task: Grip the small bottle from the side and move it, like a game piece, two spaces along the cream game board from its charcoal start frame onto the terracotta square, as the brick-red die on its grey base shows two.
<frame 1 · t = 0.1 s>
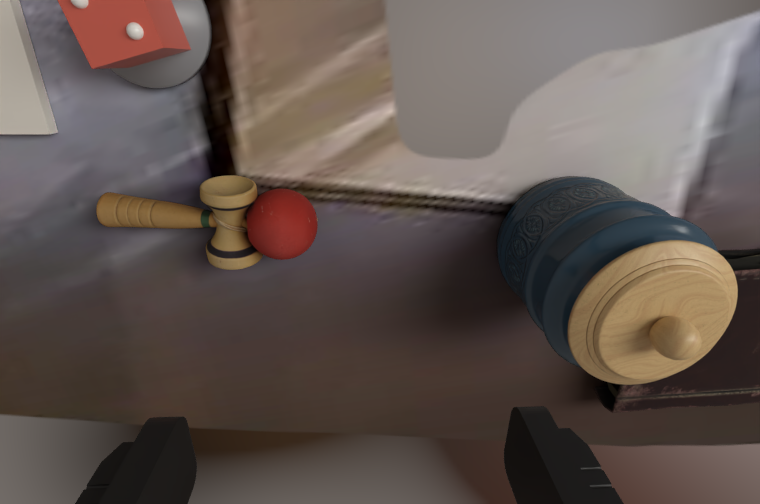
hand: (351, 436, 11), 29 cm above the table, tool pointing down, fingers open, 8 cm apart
canister: (558, 237, 41), on the table
diary: (714, 316, 47), on the table
kendama: (219, 210, 38), on the table
red die: (150, 23, 32), on the table
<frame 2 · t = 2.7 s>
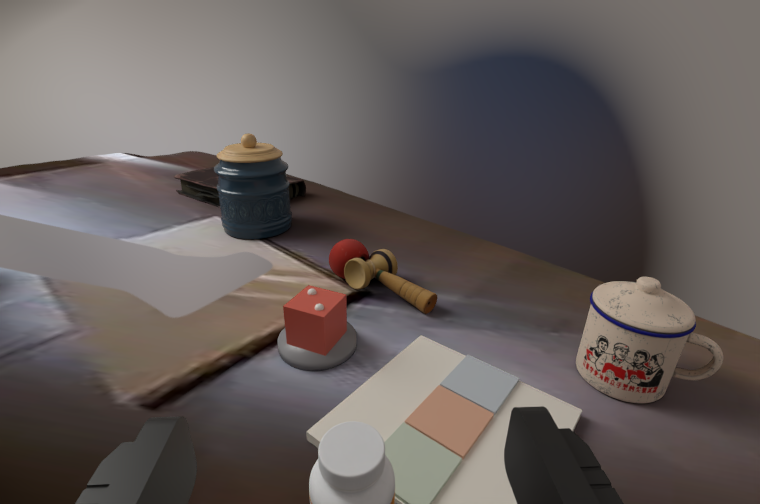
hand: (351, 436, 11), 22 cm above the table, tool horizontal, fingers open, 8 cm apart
teacup with lid: (633, 382, 45), on the table
canister: (258, 228, 82), on the table
diary: (240, 197, 100), on the table
kendama: (380, 291, 61), on the table
red die: (317, 344, 49), on the table
game board: (424, 458, 36), on the table
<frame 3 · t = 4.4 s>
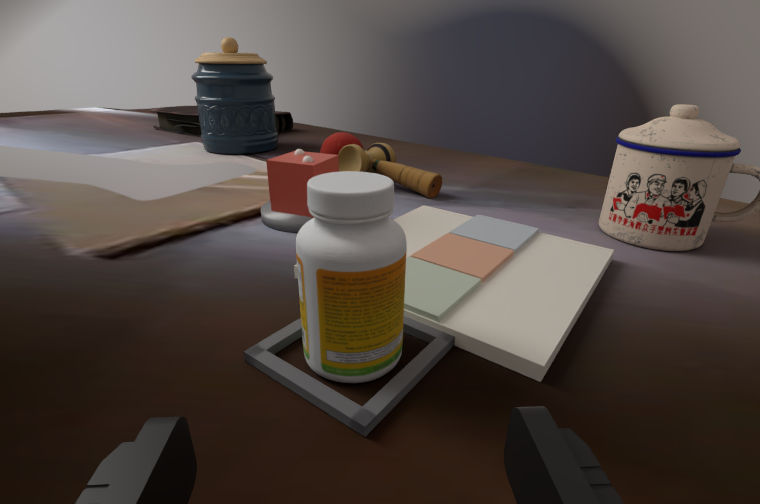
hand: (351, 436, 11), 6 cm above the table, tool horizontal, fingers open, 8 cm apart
teacup with lid: (664, 239, 40), on the table
supplement bottle: (353, 355, 23), resting in game board
canister: (242, 149, 75), on the table
diary: (223, 133, 94), on the table
kendama: (377, 186, 55), on the table
red die: (307, 216, 43), on the table
game board: (435, 289, 30), on the table
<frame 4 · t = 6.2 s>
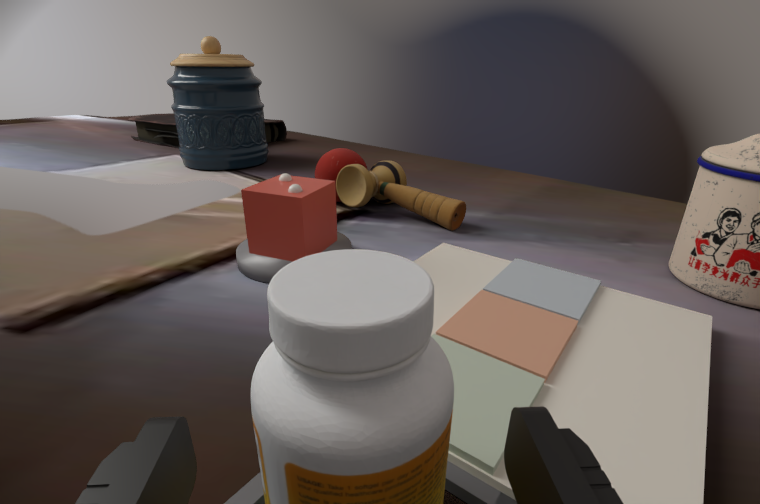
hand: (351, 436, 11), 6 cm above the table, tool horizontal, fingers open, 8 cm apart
canister: (227, 163, 66), on the table
diary: (209, 143, 85), on the table
kendama: (385, 213, 46), on the table
red die: (295, 257, 34), on the table
game board: (474, 386, 21), on the table
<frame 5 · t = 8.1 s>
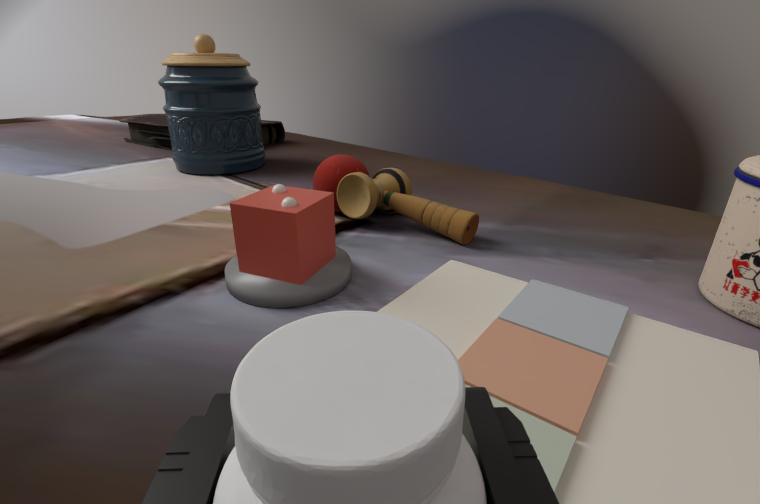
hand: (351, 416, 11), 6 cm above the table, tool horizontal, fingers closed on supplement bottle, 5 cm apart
canister: (222, 167, 64), on the table
diary: (204, 145, 82), on the table
kendama: (389, 225, 42), on the table
red die: (290, 275, 31), on the table
game board: (492, 440, 18), on the table
when the fingers open (8 cm above the table, at t = 13.3 s): supplement bottle drops 1 cm, resting on game board.
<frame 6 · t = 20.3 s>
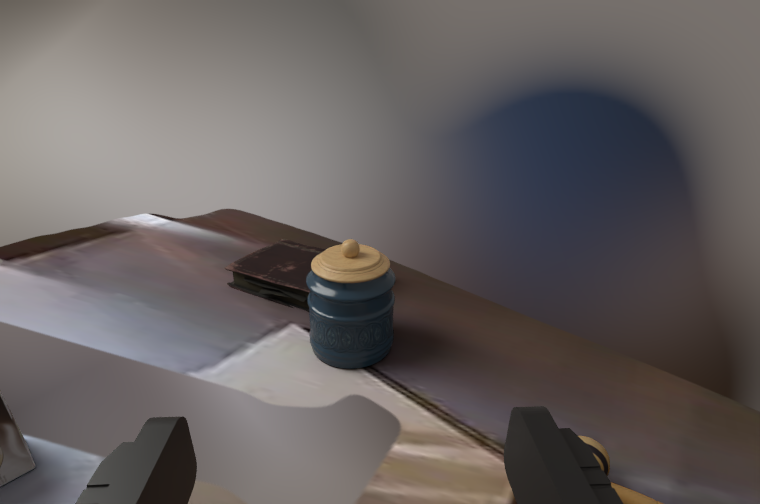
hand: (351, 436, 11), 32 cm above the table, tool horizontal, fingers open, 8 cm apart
canister: (352, 344, 67), on the table
diary: (305, 286, 85), on the table
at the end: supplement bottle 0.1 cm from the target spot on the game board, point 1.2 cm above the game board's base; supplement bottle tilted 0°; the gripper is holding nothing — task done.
